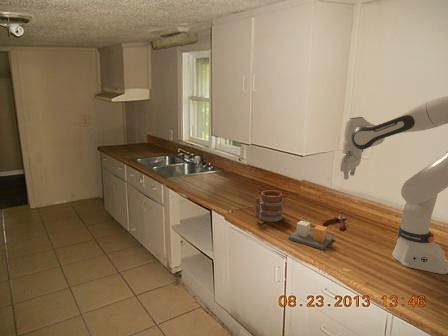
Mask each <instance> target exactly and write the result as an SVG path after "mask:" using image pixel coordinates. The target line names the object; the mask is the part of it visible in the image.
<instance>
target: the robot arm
mask: <svg viewBox="0 0 448 336" xmlns="http://www.w3.org/2000/svg"><path fill="white" fill-rule="evenodd" d="M447 124H448V95H446V96H441V97H438V98H435V99H432V100H428V101H426V102H423V103H421V104H419V105H417V106H415V107H413V108H411V109H410V110H408V111H406V112H405V113H402V114H401V115H399V116H397V117H395V118H393V119H391V120H388V121H385V122H382V123H379V124H377V125H376V124H374V123H372V122H369V121H368V120H367V119H365V118H364V117H363V116H357V117H350V118H348V119H347V121H346V123H345V127H344V133H343V136H344V141H343V142H342V143H343V144H342V154H344V155H343V156H342V158H341V163H340V172H343V179H344V180H346V181H347V180H348V179H349V178H350V176H352V177H353V176H355V173H356V169H357V167H358V166H360V164H361V160H362V157H363V156H362V153H363V152H364V150H366V149H369V148H372V147H375V146H379V145H381V144H382V143H383V142H384V141H385V138H388V137H392V136H394V135H398V134H403V133H412V132H420V131H426V130H431V129H435V128H438V127H441V126H443V125H447ZM447 188H448V151H446V152H444V154H442V155H441V156H440V157H438V158H437V159H435V160H434V161H433V162H431V163H430V164H428V165H427V166H425V167H424V168H423V169H421V170H420V171H418V172H417V173H415V174H414V175H413V176H411V177H410V178H408V179H407V180H406V181H405V182H404V183H403V185H402V186H401V190H400V193H401V194H400V195H401V197H402V198H403V200H404V201H405V204H404V207H403V209H402V213H401V214H402V215H401V220H400V221H401V222H400V225H399V226H398V230H397V241H396V245H395V247H394V249H393V251H392V254H391V255H392V257H393V258H394V259H395V260H397V261H398V262H400V263H401V265H402V266H403V267H407V268H411V269H416V270H420V271H425V272H430V273H435V274H440V275H445V274H448V260H447V259H446V254H445V251H444V249H443V248H441V247H440V246H439V244H437V243H436V242H435V241H434V239H435V238H434V236H435V235H434V232H431V231H430V228H431V227H430V226H431V221H432V216H433V212H434V208H435V206H436V202H437V198H438V196H439V195H438V194H440V193H441V192H442V191H444V190H446V189H447Z"/></svg>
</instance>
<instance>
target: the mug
mask: <svg viewBox="0 0 448 336" xmlns="http://www.w3.org/2000/svg"><path fill="white" fill-rule="evenodd" d="M283 203H284V200H283V193H282V191H279V190H275V189H274V190H270V189H268V190H267V189H266V190H263V191H262V192H261V195H260V198H259V197H256V198H255V205H254V206H255V211H254V216H255V218H256V219H261V220H262V221H263V222H264V221H265V222H272V223H276V222H280V221H281V220H282V219H283V217H284V216H283V214H282V213H283V207H282V205H283Z"/></svg>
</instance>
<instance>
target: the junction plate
mask: <svg viewBox="0 0 448 336" xmlns="http://www.w3.org/2000/svg"><path fill="white" fill-rule="evenodd" d="M313 231H314V230H311V222H307V221H305V220H300V221H298V222H296V230H295V231H294V232H292V233H291V234H289V235H288V238H287V239H288V240H290V241H293V242H297V243H300V244H303V245H307V246H309V247H313V248H315V249H319V250H324V249H326V247H328V245H329V244H330V243H332V241H333V240H334V236H332V235H329V234H327V237H326V239H325V240H324V241H323V242H320V241H317V240H313Z"/></svg>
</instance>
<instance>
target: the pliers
mask: <svg viewBox="0 0 448 336" xmlns="http://www.w3.org/2000/svg"><path fill="white" fill-rule="evenodd" d="M346 218H347V216H345V215H344V216H342V215H339V216H338V217H337V216H335V217H334V218H330V219H325V220H324V221H323V222H322V225H321V226H324V227H326V225H328V224H331V223H337V222H339V223H340V227H339V231H343V230H344V229H345V227H346V225H345V219H346Z"/></svg>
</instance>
